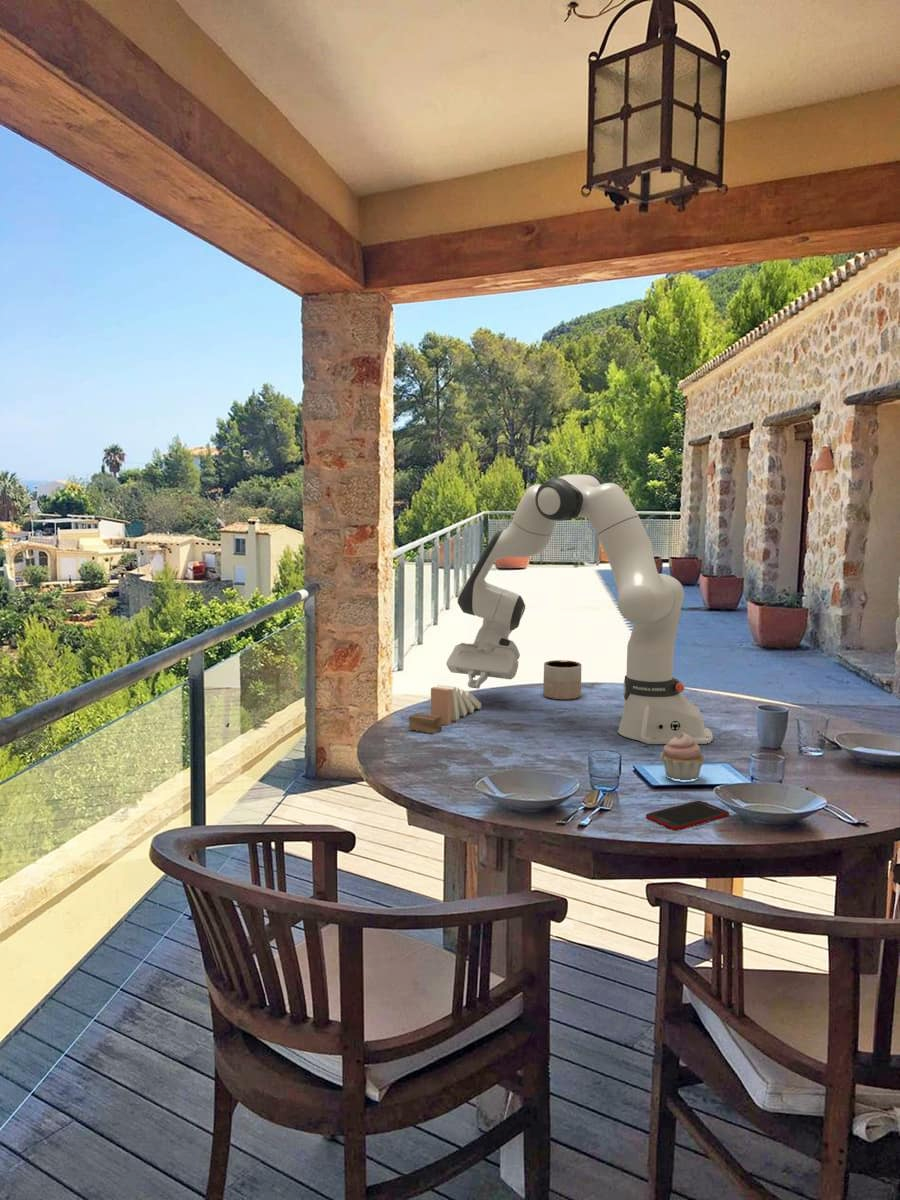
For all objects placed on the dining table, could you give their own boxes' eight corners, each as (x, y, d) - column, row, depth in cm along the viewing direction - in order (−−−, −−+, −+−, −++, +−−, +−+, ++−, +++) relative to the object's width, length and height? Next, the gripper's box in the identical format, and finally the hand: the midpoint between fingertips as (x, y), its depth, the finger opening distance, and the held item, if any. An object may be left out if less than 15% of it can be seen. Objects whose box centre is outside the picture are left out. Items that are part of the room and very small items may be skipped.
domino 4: (458, 705, 243) (446, 687, 236) (474, 708, 240) (463, 689, 234) (456, 710, 242) (444, 692, 236) (472, 713, 240) (461, 695, 233)
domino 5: (465, 701, 247) (452, 689, 239) (481, 704, 244) (469, 691, 237) (463, 707, 246) (450, 694, 239) (480, 709, 244) (467, 696, 236)
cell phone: (643, 819, 166) (643, 814, 166) (699, 804, 173) (699, 799, 173) (674, 833, 159) (674, 827, 159) (731, 817, 167) (731, 812, 167)
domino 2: (442, 715, 236) (438, 684, 233) (459, 718, 233) (455, 686, 230) (439, 718, 234) (435, 687, 231) (456, 720, 232) (452, 689, 229)
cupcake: (654, 770, 192) (656, 725, 191) (698, 771, 192) (700, 726, 191) (663, 785, 183) (665, 737, 182) (709, 786, 183) (711, 738, 182)
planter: (583, 700, 254) (584, 667, 253) (544, 700, 254) (545, 667, 253) (578, 692, 265) (579, 660, 263) (541, 691, 265) (542, 659, 264)
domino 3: (450, 710, 239) (442, 685, 234) (467, 712, 237) (458, 687, 232) (448, 714, 238) (439, 689, 233) (464, 716, 236) (456, 692, 231)
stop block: (417, 726, 226) (417, 712, 226) (441, 730, 223) (441, 716, 223) (409, 730, 223) (409, 716, 222) (433, 734, 220) (433, 720, 219)
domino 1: (433, 721, 232) (434, 686, 230) (450, 723, 229) (451, 689, 228) (430, 722, 230) (430, 688, 229) (447, 725, 228) (448, 690, 227)
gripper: (453, 636, 254) (435, 676, 247) (519, 642, 245) (503, 684, 237) (460, 649, 259) (443, 688, 252) (525, 655, 249) (510, 697, 242)
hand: (473, 686), depth 244 cm, fingers closed
